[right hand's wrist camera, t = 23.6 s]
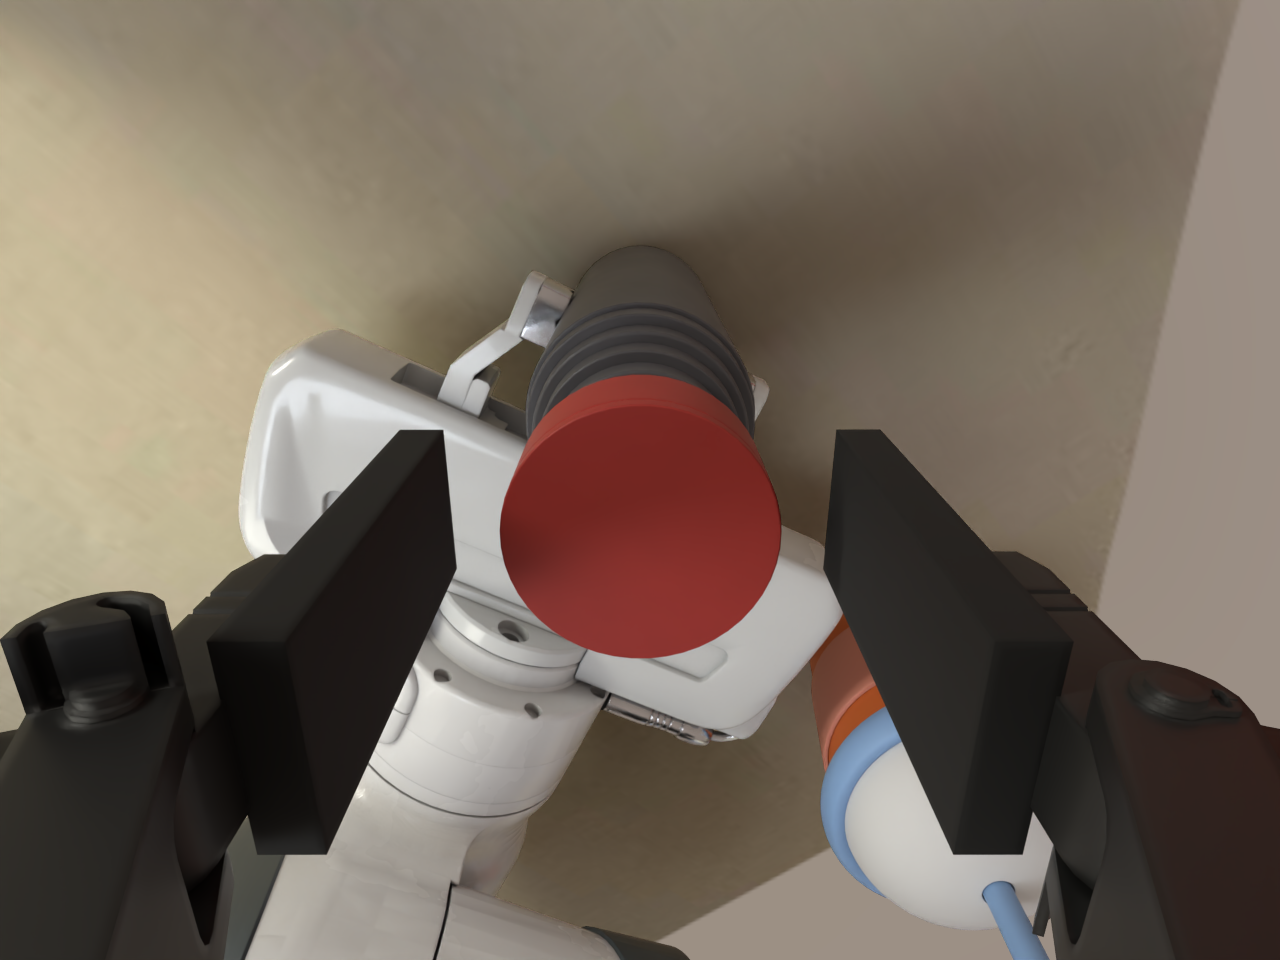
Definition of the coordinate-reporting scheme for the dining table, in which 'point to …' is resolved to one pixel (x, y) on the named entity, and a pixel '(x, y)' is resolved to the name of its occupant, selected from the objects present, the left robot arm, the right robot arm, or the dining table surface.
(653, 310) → the bottle
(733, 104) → the dining table surface
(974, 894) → the cup with straw
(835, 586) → the right robot arm
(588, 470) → the cap
